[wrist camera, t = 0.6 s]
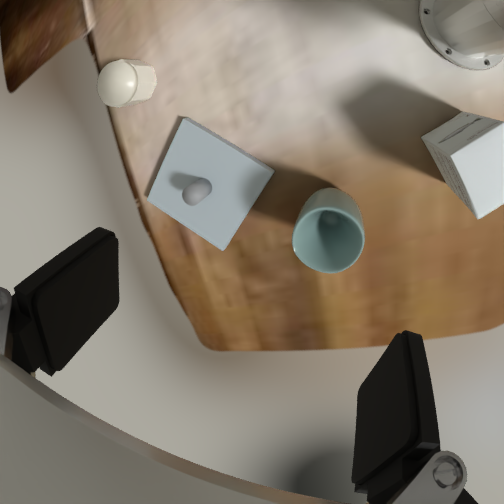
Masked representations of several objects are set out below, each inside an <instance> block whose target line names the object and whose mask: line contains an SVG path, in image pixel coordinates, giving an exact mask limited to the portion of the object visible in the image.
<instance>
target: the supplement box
mask: <svg viewBox="0 0 504 504" xmlns="http://www.w3.org/2000/svg"><path fill="white" fill-rule="evenodd" d="M421 138H422V140H423V142H424V143H425V145H426V147H427V149H428V150H429V152H430V154H431V156H432V157H433V159H434V161H435V163H436V165H437V167H438V169H439V171H440V172H441V174H442V176H443V178H444V180H445V182H446V184H447V185H448V186H449V187H450V188H451V189H452V191H453V192H454V193H455V194H456V195H457V196H458V197H459V198H460V199H461V200H462V201H463V202H464V203H465V205H466V206H467V207H468V208H469V209H470V210H471V211H472V213H473V214H474V215H475V217H476V218H477V219H480V218H482V217H484V216H485V215H487V214H488V213H490V212H492V211H493V210H495V209H496V208H498V207H499V206H501V205H503V204H504V122H502V121H499V120H495V119H491V118H488V117H484V116H480V115H476V114H472V113H467V112H461V113H460V114H458V115H457V116H455V117H454V118H452V119H451V120H449V121H448V122H446V123H444V124H443V125H441V126H439V127H437V128H436V129H434V130H432V131H431V132H429V133H427V134H425V135H423V136H422V137H421Z"/></svg>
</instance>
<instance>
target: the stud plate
mask: <svg viewBox="0 0 504 504" xmlns="http://www.w3.org/2000/svg"><path fill="white" fill-rule="evenodd" d="M274 172H275V170H273V169H272V168H270V167H269V166H267V165H266V164H264V163H262V162H261V161H259V160H258V159H256V158H255V157H253V156H251V155H250V154H248V153H247V152H245V151H244V150H242V149H240V148H239V147H237V146H235V145H234V144H232V143H231V142H229V141H227V140H226V139H224V138H222V137H221V136H219V135H217V134H216V133H214V132H212V131H211V130H209V129H207V128H206V127H204V126H202V125H201V124H199V123H197V122H195V121H194V120H192V119H190V118H183V120H182V122H181V124H180V126H179V128H178V130H177V133H176V135H175V137H174V139H173V141H172V143H171V145H170V148H169V150H168V152H167V154H166V156H165V159H164V161H163V163H162V165H161V168H160V170H159V172H158V175H157V177H156V179H155V182H154V184H153V187H152V189H151V191H150V194H149V196H148V199H147V201H149V202H150V203H152V204H153V205H155V206H156V207H158V208H159V209H161V210H162V211H164V212H165V213H167V214H168V215H170V216H171V217H173V218H174V219H176V220H177V221H179V222H180V223H182V224H183V225H185V226H186V227H188V228H189V229H191V230H192V231H194V232H195V233H197V234H198V235H200V236H201V237H203V238H204V239H206V240H207V241H209V242H210V243H212V244H213V245H215V246H216V247H218V248H219V249H221V250H222V251H224V250H225V248H226V247H227V245H228V244H229V242H230V240H231V239H232V237H233V236H234V234H235V233H236V231H237V229H238V228H239V226H240V225H241V223H242V221H243V220H244V218H245V217H246V215H247V214H248V212H249V211H250V209H251V207H252V206H253V204H254V203H255V201H256V200H257V198H258V196H259V195H260V193H261V192H262V190H263V189H264V187H265V186H266V184H267V182H268V181H269V179H270V178H271V176H272V175H273V173H274Z"/></svg>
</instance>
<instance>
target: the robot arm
mask: <svg viewBox="0 0 504 504" xmlns="http://www.w3.org/2000/svg"><path fill="white" fill-rule="evenodd" d="M424 12H426V13H427V15H426V14H425V13H424ZM419 14H420V21H421V24H422V27H423V30H424V32H425V34H426V36H427V38H428V39H429V41H430V42H431V44H432V45H433V46H434V47H435V48H436V50H437V51H438V52H439V53H440V54H442V55H443V56H444V57H445V58H446V59H448V60H449V61H451V62H452V63H454V64H456V65H458V66H460V67H462V68H466V69H469V70H486V69H490V68H492V67H494V66H496V65H497V64H499V63H500V62H501V61H502V59H503V58H504V0H421V1H420V6H419ZM445 50H447V51H448V54H447V53H446V51H445ZM484 62H485V63H486V65H485V64H484ZM14 290H15V294H14V295H13V296H11V294H10V292H9V291H8V290H7V289H4V288H2V287H0V504H349V503H342V502H336V501H331V500H325V499H320V498H315V497H310V496H305V495H300V494H295V493H291V492H287V491H282V490H278V489H274V488H270V487H267V486H263V485H259V484H255V483H252V482H249V481H245V480H242V479H239V478H236V477H233V476H229V475H226V474H223V473H220V472H218V471H215V470H212V469H209V468H206V467H203V466H200V465H198V464H195V463H193V462H190V461H188V460H185V459H183V458H180V457H177V456H175V455H173V454H171V453H168V452H166V451H163V450H161V449H159V448H157V447H154V446H152V445H150V444H148V443H146V442H144V441H142V440H140V439H138V438H135V437H133V436H131V435H129V434H127V433H125V432H123V431H122V430H119V429H118V428H116V427H114V426H112V425H110V424H108V423H106V422H105V421H103V420H101V419H99V418H97V417H95V416H94V415H92V414H90V413H89V412H87V411H85V410H84V409H82V408H80V407H78V406H77V405H75V404H74V403H72V402H70V401H69V400H67V399H66V398H64V397H62V396H61V395H59V394H58V393H56V392H55V391H53V390H52V389H50V388H49V387H47V386H46V385H44V384H43V383H42V382H40V381H38V380H37V379H36V378H35V371H36V370H37V369H38V368H39V367H40V369H41V370H42V371H44V372H46V373H47V374H48V375H50V376H52V375H53V374H54V373H55V372H56V371H60V370H62V369H63V368H64V367H65V365H66V364H67V363H68V362H69V361H70V360H71V359H72V357H73V356H74V355H75V354H76V353H77V352H78V351H79V349H80V348H81V347H82V346H83V345H84V344H85V343H86V342H87V341H88V339H89V338H90V337H91V336H92V335H93V334H94V333H95V332H96V331H97V329H98V328H99V327H100V326H101V325H102V324H103V323H104V322H105V321H106V320H107V319H108V317H109V316H110V315H111V314H112V313H113V312H114V311H115V310H116V308H117V307H118V304H119V272H118V239H117V238H116V237H115V233H114V232H112V231H109V230H107V229H104V228H101V227H98V228H96V229H94V230H93V231H91V232H90V233H88V234H87V235H85V236H84V237H82V238H81V239H80V240H78V241H77V242H75V243H74V244H72V245H71V246H69V247H68V248H67V249H65V250H64V251H62V252H61V253H59V254H58V255H57V256H55V257H54V258H53V259H51V260H50V261H49V262H47V263H46V264H44V265H43V266H42V267H40V268H39V269H38V270H36V271H35V272H34V273H32V274H31V275H30V276H28V277H27V278H26V279H24V280H23V281H22V282H21V283H19V284H18V285H17V286H15V287H14ZM356 418H357V419H356V433H355V446H354V458H353V469H352V483H355V492H357V493H365V494H367V501H368V502H367V503H366V504H478V503H477V502H476V501H475V500H474V498H473V497H472V496H471V495H470V494H469V493H468V492H467V491H466V490H465V489H464V486H465V484H466V481H467V471H466V467H465V465H464V462H463V461H462V460H461V458H460V457H459V456H457V455H456V454H455V453H453V452H450V451H441V450H440V439H439V430H438V422H437V415H436V408H435V402H434V395H433V389H432V384H431V378H430V372H429V367H428V362H427V357H426V352H425V348H424V343H423V339H422V336H421V335H420V334H416V333H413V332H410V331H406V330H405V331H403V332H402V333H401V334H400V333H397V334H396V335H395V337H394V338H393V340H392V341H391V343H390V344H389V346H388V347H387V349H386V350H385V352H384V353H383V355H382V356H381V358H380V359H379V361H378V362H377V364H376V365H375V366H374V368H373V369H372V371H371V372H370V373H369V375H368V377H367V378H366V379H365V381H364V382H363V383H362V384H361V386H360V388H359V391H358V396H357V417H356Z"/></svg>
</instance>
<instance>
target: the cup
mask: <svg viewBox="0 0 504 504" xmlns="http://www.w3.org/2000/svg"><path fill="white" fill-rule="evenodd" d="M364 241H365V232H364V223H363V217H362V213H361V211H360V208H359V206H358V204H357V203H356V201H355V200H354V199H353V198H352V197H351V196H350V195H349V194H347V193H346V192H344V191H342V190H340V189H336V188H330V187H328V188H322V189H320V190H317V191H316V192H314V193H313V194H312V195H311V196H310V197H309V198H308V199H307V200H306V202H305V203H304V205H303V206H302V208H301V210H300V213H299V215H298V217H297V220H296V222H295V225H294V229H293V233H292V246H293V250H294V252H295V254H296V255H297V257H298V258H299V259H300V260H301V261H302V262H303V263H304V264H305V265H307V266H308V267H310V268H312V269H314V270H316V271H320V272H323V273H338V272H341V271H344V270H345V269H347V268H349V267H350V266H351V265H352V264H354V263H355V261H356V260H357V259H358V258H359V256H360V254H361V252H362V250H363V247H364Z"/></svg>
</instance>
